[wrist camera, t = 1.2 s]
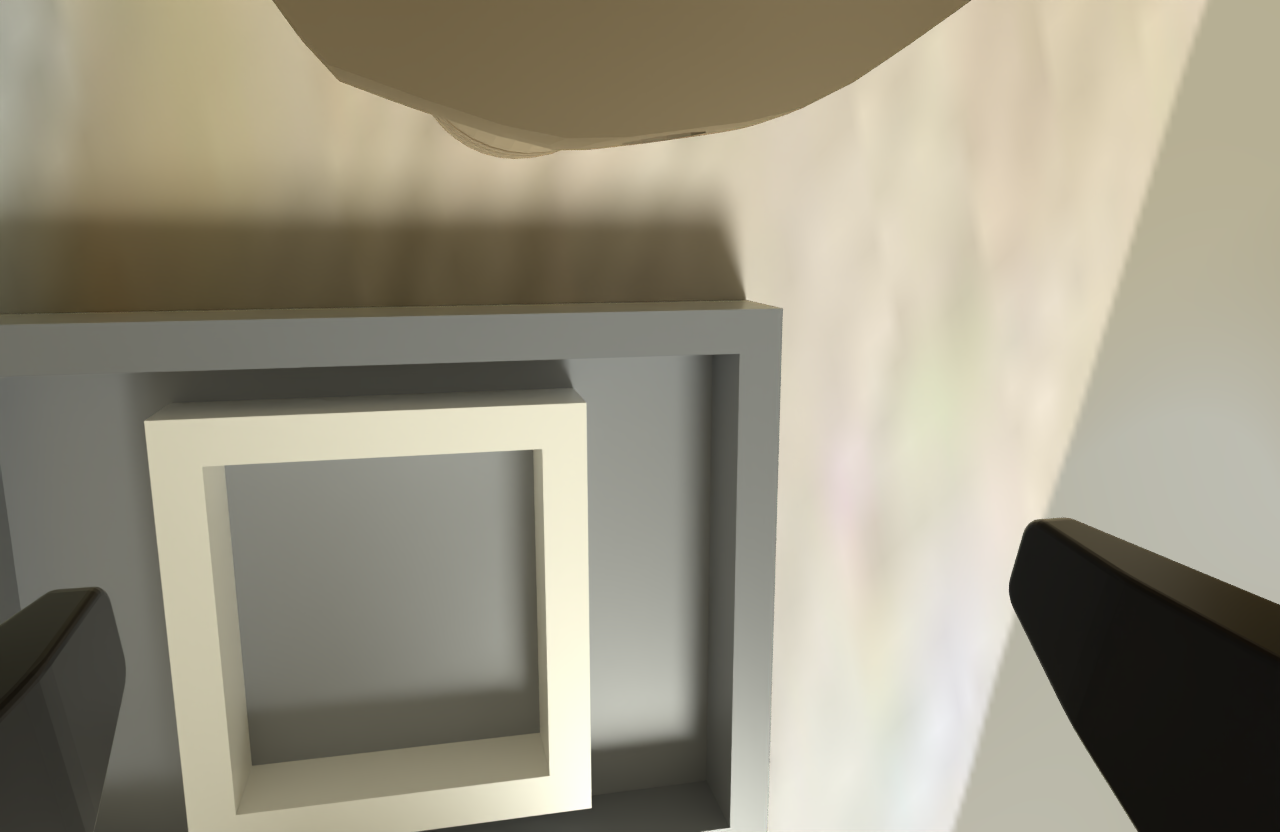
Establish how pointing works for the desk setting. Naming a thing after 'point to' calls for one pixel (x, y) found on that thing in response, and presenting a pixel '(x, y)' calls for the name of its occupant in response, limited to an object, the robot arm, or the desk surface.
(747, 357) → the walled box
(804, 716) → the desk surface
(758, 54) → the handle
